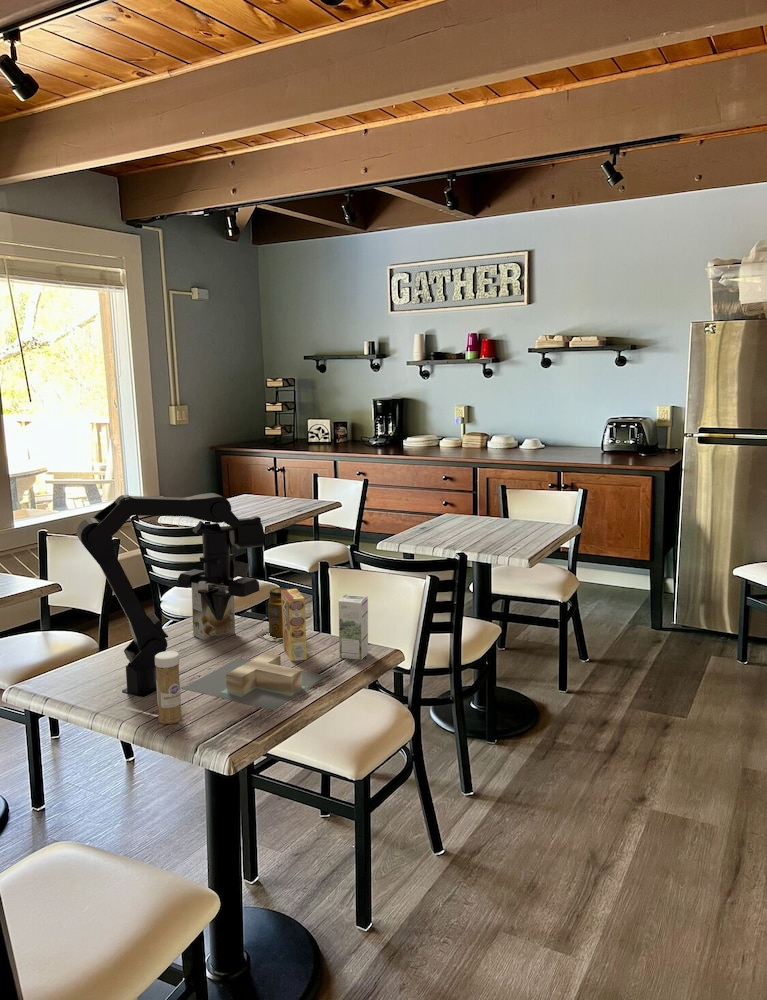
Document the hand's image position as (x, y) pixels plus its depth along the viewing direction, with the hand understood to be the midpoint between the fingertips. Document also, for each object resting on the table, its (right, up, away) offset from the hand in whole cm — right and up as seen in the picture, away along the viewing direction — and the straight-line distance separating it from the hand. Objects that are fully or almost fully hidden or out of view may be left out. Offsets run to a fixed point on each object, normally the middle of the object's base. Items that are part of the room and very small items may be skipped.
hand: (219, 620), depth 172 cm
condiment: (+9, -9, +28) cm, 31 cm away
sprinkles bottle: (-6, -17, -20) cm, 26 cm away
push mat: (+8, -13, -2) cm, 16 cm away
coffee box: (-8, -8, +29) cm, 31 cm away
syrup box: (+29, -11, +13) cm, 34 cm away
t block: (+12, -13, -5) cm, 19 cm away
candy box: (+15, -11, +14) cm, 23 cm away
